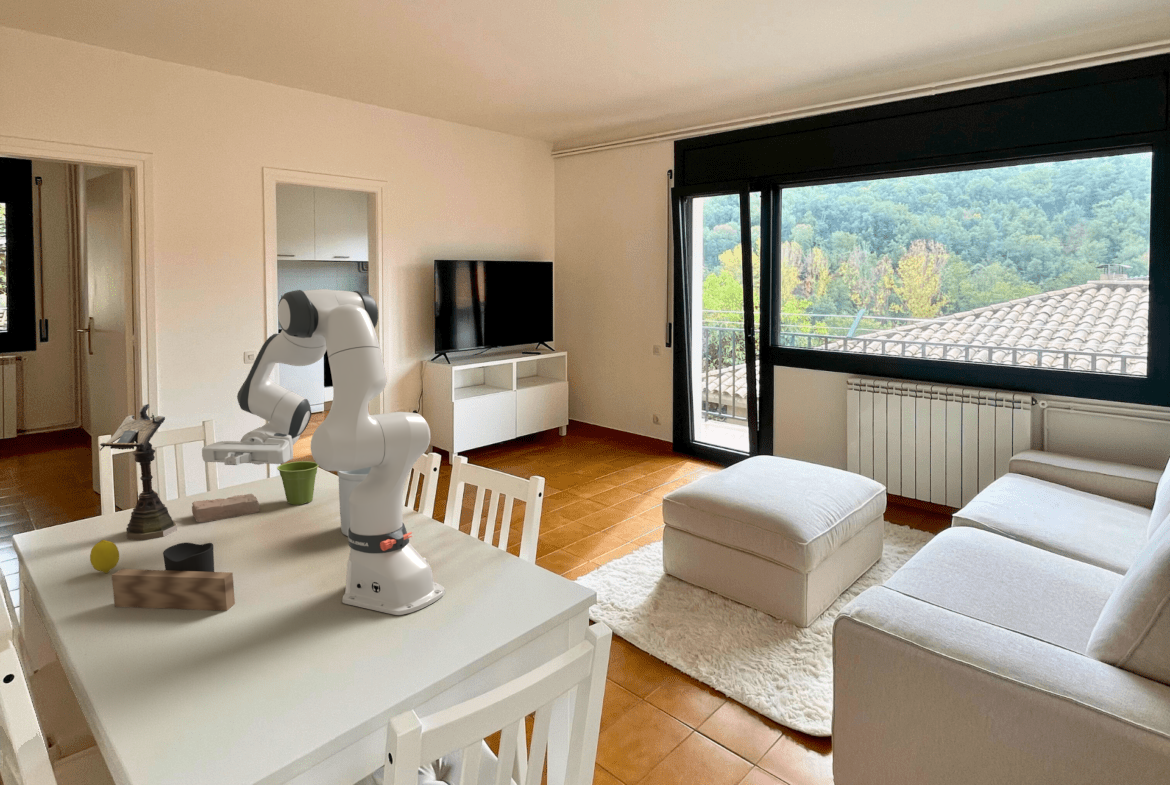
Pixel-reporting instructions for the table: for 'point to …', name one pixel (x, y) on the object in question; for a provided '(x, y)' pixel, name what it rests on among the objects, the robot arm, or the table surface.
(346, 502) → the utensil holder
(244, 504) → the brick
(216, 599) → the walnut board
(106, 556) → the lemon
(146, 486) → the ornate lectern
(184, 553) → the pen holder
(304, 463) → the plant pot
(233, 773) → the table surface
